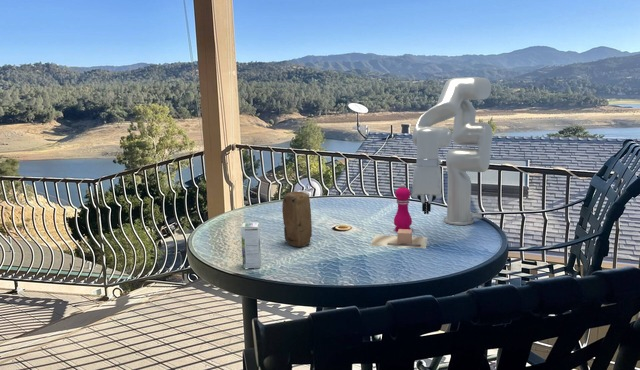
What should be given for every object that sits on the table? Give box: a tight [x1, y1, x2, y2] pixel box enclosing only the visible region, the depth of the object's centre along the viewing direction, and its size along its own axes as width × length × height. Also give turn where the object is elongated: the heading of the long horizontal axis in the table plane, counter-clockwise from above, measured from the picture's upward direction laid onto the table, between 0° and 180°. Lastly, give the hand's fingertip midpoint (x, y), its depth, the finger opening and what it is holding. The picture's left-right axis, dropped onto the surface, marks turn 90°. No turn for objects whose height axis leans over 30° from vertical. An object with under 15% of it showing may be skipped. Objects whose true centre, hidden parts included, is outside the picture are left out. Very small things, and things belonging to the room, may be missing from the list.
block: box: [281, 190, 313, 248], centre depth 178 cm, size 11×8×20 cm
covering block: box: [396, 229, 413, 244], centre depth 175 cm, size 5×5×4 cm
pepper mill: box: [393, 183, 413, 232], centre depth 188 cm, size 7×7×20 cm
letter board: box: [370, 234, 428, 249], centre depth 176 cm, size 20×13×1 cm, turn 75°
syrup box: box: [240, 221, 262, 269], centre depth 157 cm, size 6×6×14 cm
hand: (426, 213), depth 171 cm, fingers closed
